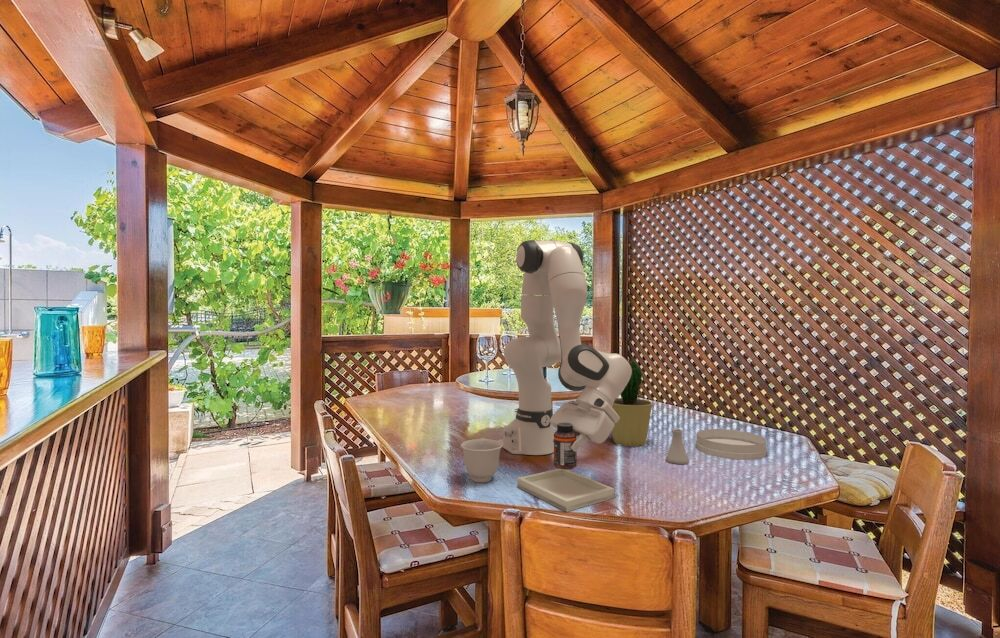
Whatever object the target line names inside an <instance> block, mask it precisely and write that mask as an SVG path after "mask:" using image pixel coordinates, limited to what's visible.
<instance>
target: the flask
mask: <svg viewBox="0 0 1000 638" xmlns="http://www.w3.org/2000/svg"><path fill="white" fill-rule="evenodd" d="M671 431H672V440H671V444H670V446H669V448H668V451H667V454H666V456H665V459H664V461H665V462H667V463H669V464H677V465H687V464H689V462H690V460H689V458H688V454H687V452H686V451H687V450H686V449H685V446H684V442H683V434H682V433H683V431H684V430H682V429H679V428H673V429H671Z"/></svg>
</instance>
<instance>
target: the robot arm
mask: <svg viewBox="0 0 1000 638" xmlns="http://www.w3.org/2000/svg"><path fill="white" fill-rule="evenodd" d="M583 253H584V252H583V250H582V248H581V246H579V245H578V244H576V243H574V242H570V241H569V242H568V241H567V242H565V241H561V240H560V241H559V240H554V239H553V240H534V239H529V240H524V241H522V242H521V243H520V244H519V246H518V247H517V251H516V256H515V259H516V265H517V267H518V269H519V270H520V271H521V272H523V273H524V274H523V277H522V278H523V279H522V285H521V298H520V318H521V319H522V320H521V321H523V322H524V323H525V325H526V326H527V329H528V336H520V337H517V338H514V339H512V340H509V341H508V342H507V343H506V345H505V347H504V349H503V350H504V351H503V357H504V361H505V363H506V364H507V365H508V366H509V367H510V369H512V371H513V373H514V375H515V378H516V381H517V382H516V383H517V386H518V408H514V409H513V410H515V411H514V413H515V418H514V419H513V420H512V421H511V422H510V423H509V424H507V425H506V426H505V427H504V430H503V438H499V439H498V440H497V441H499V442H501V443H502V444H503V446H502V447H501V448H503V449H505V450H506V451H508V452H509V453H511V454H512V455H526V456H527V455H529V456H544V455H550V454H554V433H555V432H556V431H557V424H558V423H571V424H572V425H573V429H572V431H573V432H575V433H576V437H578V438H576V441H575V442H571V444H570V445H569V448H570V449H571V450H572V451H574V452H576V451H577V452H578V450H579V449H580V448H581V447H582V446H584V445H586V443H587V442H588V441H590V442H593V443H597V444H602V443H604V442H605V441H606V440H607V439H608V437H609V436H610V434H611V433H612V432H613V431H612V430H613V428H614V423H617V422H618V421H619V419H620V417H619V416H618V414H617V413H616V412H615V411H614V409H613V408H612V406H613V403H614V401H615V399H616V398H619V397H620V396H621V393H622V392H623V390H624V388H625V387H626V385H627V383H628V382H629V380H630V377H631V374H632V369H631V366H630V364H629V362H630V361H629V360H627V359H626V358H625V357H624V356H623V355H621V354H619V353H613V352H612V353H610V352H603V351H601V350H598V349H596V348H595V347H593V346H591V345H588V344H582V340H581V332H580V324H581V318H582V315H583V311H584V308H585V306H586V303H587V300H588V285H587V279H586V274H585V273H586V272H585V270H584V266H583V263H584V254H583ZM554 313H555V319H556V322H557V329H558V330H556V325H555V321H554V320H555V319H554ZM557 331H558V334H557ZM628 361H629V362H628ZM558 363H560V364H559V366H558V373H557V376H558V380H559V382H560V383H561V385H562V386H563V387H564V388H565V389H567V390H570V391H572V392H581V393H580V394H579V395H578V397H577V398H576V399H575V401H574V400H570V401H568V402H565V403H562V405H561V406H560V407H559V408H558V409H557V410H556V411H555V412H553V408H552V386H551V384H550V383H549V382H548V381H547V380H546V379H545V377H544V373H543V372H544V371H543V368H546V367H552V366H554V365H556V364H558ZM555 429H556V430H555Z"/></svg>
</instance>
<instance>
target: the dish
mask: <svg viewBox="0 0 1000 638" xmlns="http://www.w3.org/2000/svg"><path fill="white" fill-rule="evenodd" d="M695 448H696V450H697V449H698V450H697V451H699V452H701V453H702V454H705V453H706V454H705V455H708V456H712V457H715V458H723V459H728V460H729V459H730V460H737V461H738V460H741V461H742V460H743V461H749V460H750V461H751V460H754V461H755V460H760V459H763V458H766V457H767V449H768V448H767V439H766V438H765V437H763V436H761V435H759V434H756V433H753V432H747V431H742V430H738V429H737V430H736V429H725V428H709V429H702V430H699V431H697V433H696V440H695Z"/></svg>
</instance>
